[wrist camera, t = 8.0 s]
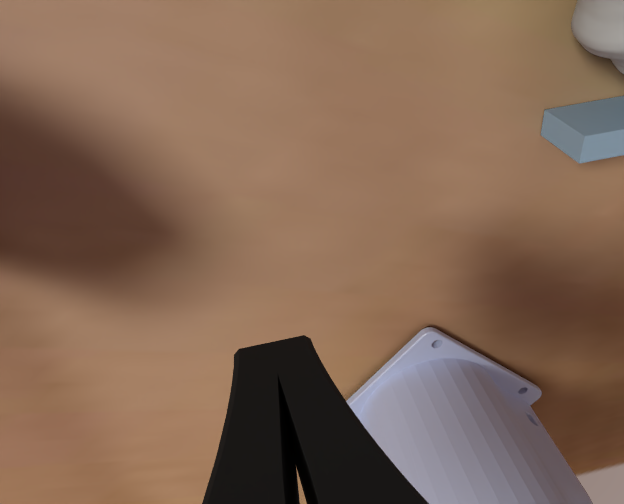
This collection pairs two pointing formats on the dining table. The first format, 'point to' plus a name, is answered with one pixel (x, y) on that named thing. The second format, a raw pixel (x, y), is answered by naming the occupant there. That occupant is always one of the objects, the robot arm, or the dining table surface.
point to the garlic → (601, 28)
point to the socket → (587, 129)
